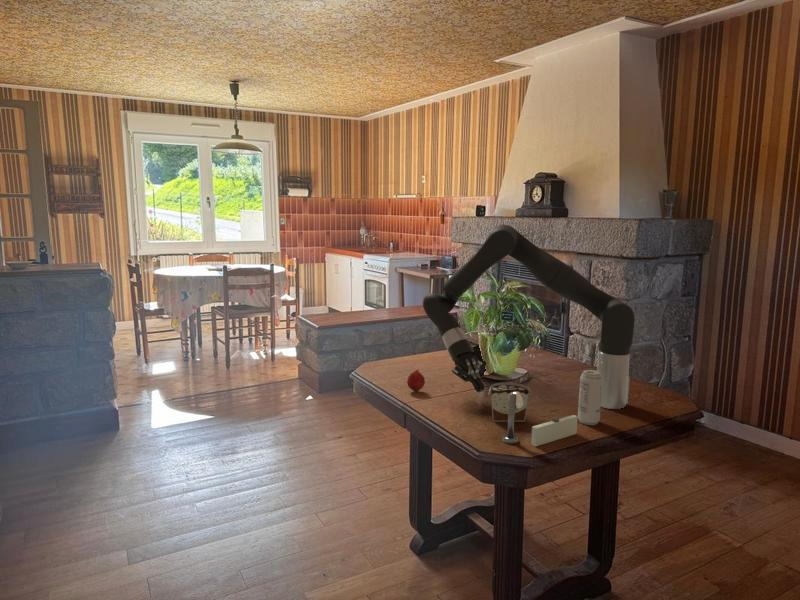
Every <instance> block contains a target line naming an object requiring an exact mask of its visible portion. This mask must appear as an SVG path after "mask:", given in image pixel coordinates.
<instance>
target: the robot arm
mask: <svg viewBox="0 0 800 600" xmlns="http://www.w3.org/2000/svg"><path fill="white" fill-rule="evenodd" d="M507 256H509V257H511V259H514V260H515V261H517V262H519V263H521V264H522V265H523V266H524V267H525V268H526V270H528V271H529V272H530V273H531V275H532V276H534V278H535V279H536V280H537V281H538V282H539V283H541V284H542V285H543V286H544V287H546V288H548V289H549V290H551V291H552V292H553V293H555V294H556V295H558V296H560V297H562V298H563V299H566V300H568V301H571V302H572V303H575V304H577V305H579V306H581V307H582V308H584V309H586V310H587V311H588V312H590V313H591V314H593V315H594V317H596V318H597V319H598V320H600V322H601V331H600V340H599V342H598V353H597V365H596V366H597V367H596V371H599V372H600V373H601V374H600V375H601V377H602V379H603V380H602V394H601V408H603V409H608V410H609V409H610V410H622V409H621V408H623V409H624V407H625V406H626V407H627V405H628V400H629V389H630V378H631V377H630V375H629V371H630V370H629V369H630V358H631V349H632V346H633V341H634V340H633V339H634V331H635V321H636V320H635V319H636V318H635V313H634V311H633V308H632V307H630V306H629V305H628V304H627V303H626V302H625V301H622V300H621V299H618V298H616V297H615V296H612V295H611V294H609V293H606V292H605V291H603V290H601V289H600V288H598V287H597V286H595V285H594V284H593V283H591V282H590V281H589V280H588V279H587V278H586V277H585V276H583V275H582V274H580V273H579V272H578V271H577V270H575V268H573V267H571V266H570V265H568V264H567V263H565V262H563V261H562V260H561V259H560V258H559V259H558V258H557V257H555V256H554V255H552V254H550V252H547V251H546V250H544V249H542V248H540V247H538V246H537V245H535V244H534V243H533V242H531V241H530V240H529V239H528V238H526V237H525V236H524V235H522V234H521V233H520V232H519V231H518V230H516V229H515V228H514V227H513V226H510V225H509V224H498V225H497V226H494V227H493V229H492V230H491V231H490V232H489V233H488V235H487V238H486V240H485V241H484V242H483V244H482V245H481V246H480V248H479V250H478V251H477V252H476V253H475V254H474V255H473V256H472V257H471V258H470V259H469V260H468V261H467V262H465V263H464V264H463V265H462V266H460V268H458V269H457V270H456V271H454V273H453V274H452V275H451V276H450V277H449V278H448V279H447V280H446V281H445V282H444V283H443V285H442V289H443V291H444V292H443V293H442V294H438V293H433V292H432V293H431V292H430V293H428V294H426V295H425V296H424V297H423V301H422V306H423V307H422V308H423V310H424V312H425V314H426V316H427V317H428V318H429V319H430V320H431V322H432V323H433V325H435V326H436V328H437V330H438V332H439V334H440V337H441V338H442V341H443V343H444V346H445V348H446V351H448V353H449V356H450V358H451V360H452V361H453V362H454V365H455V366H454V368H453V369H452V370H451V372H452V373H453V374H454V375H456V376H457V377H458V378H460V379H461V380H462V381H464V382H465V383H467V382H469V383H470V384H471V385H472V386H473V389H474V390H475V391H476V392H477V393H483V392H484V390H485V385H484V383H483V381H482V378H483V377H485V376H484V372H485V365H486V362H485V361H483V362H481V361H478V359H477V357H476V356H475V355H474V350H473V348H472V347H473V346H472V344H471V343H470V341H469V338H468V337H467V335H466V333H465V331H463V329H462V327H461V325H460V324H459V322H458V319H457V318H456V316H454V315H452V314H451V313H450V312H452V311H453V309H454V308H455V306H456V304H457V303H458V301H459V299H460V298H461V297H462V296H463V295H464V293H466V292H467V291H468V290H469V289H470V288H471V287H473V285H474V284H475V282H477V280H479V278H480V277H482V276H483V274H485V272H487V271H488V270H489V269H490V268H491V267H493V266H494V265H495V264H497V263H498V262H500V261H501V260H503V259H504V258H505V257H506V258H507ZM477 366H478V367H477ZM626 404H627V405H626ZM626 407H625V408H626Z"/></svg>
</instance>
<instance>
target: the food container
mask: <svg viewBox="0 0 800 600" xmlns="http://www.w3.org/2000/svg"><path fill="white" fill-rule="evenodd" d="M517 391H518V392H520V393H521V394H522V395H523V397H524V406H523V407H522V408H519V409H515V416H514V423H515V422H526V416H527V410H528V405H529V404H528V403H529V397H530V396H532V393H531V392H532V390H531V387H528V385H525V384H522V383H517V382H504V381H503V382H497V383H493V384H491V386H490V388H489V390H488V396H490V403H491V404H490V405H491V415H492V416H491V417H492V419H491V420H492V422H499V423H500V422H504V423H505V422H507V423H508V411H509V402H508V396H509V393H512V392H517Z"/></svg>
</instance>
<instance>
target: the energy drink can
mask: <svg viewBox="0 0 800 600" xmlns="http://www.w3.org/2000/svg"><path fill="white" fill-rule="evenodd" d="M600 374H601V373H600V372H599V371H597V369H596V370H594V369H584V370H582V373H581V375H580V377H579V394H578V409H577V416H578V418H577V420H579V422H580V423H581V424H583V425H586V426H595V425H598V423H599V422H600V419H601V408H602V407H601V394H602V380H603V379H602V377H601V375H600Z"/></svg>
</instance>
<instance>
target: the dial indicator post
mask: <svg viewBox="0 0 800 600" xmlns="http://www.w3.org/2000/svg"><path fill="white" fill-rule="evenodd" d="M508 402H509V411H508V422H507V434H504V435H502V442H503V443H504V442H505V443H504V444H506V445H507V444H508V445H516V444H518V443H519V437H518V436H517V435H515V433H514V432H515V422H514V416H515V409H519V408H522V407H523V406H524V397H523V395H522V394H521V393H520V392H518V391H517V392H512V393H509V396H508Z"/></svg>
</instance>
